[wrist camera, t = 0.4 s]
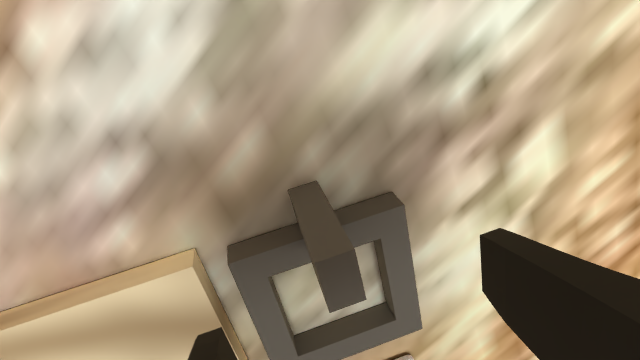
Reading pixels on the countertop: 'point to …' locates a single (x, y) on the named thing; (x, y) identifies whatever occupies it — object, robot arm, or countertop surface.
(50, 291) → the countertop surface
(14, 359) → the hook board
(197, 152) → the countertop surface
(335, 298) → the dark grey frame stand
